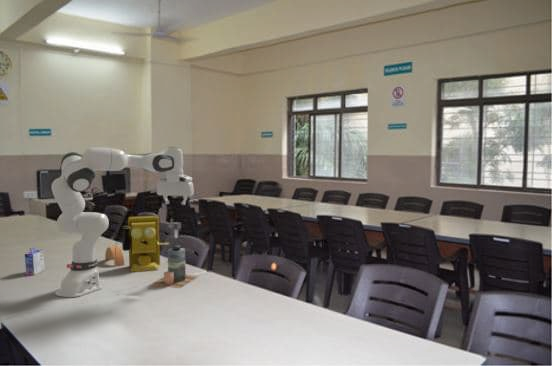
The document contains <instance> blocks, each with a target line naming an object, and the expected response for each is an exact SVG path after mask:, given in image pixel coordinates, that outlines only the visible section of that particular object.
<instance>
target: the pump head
mask: <svg viewBox="0 0 552 366" xmlns="http://www.w3.org/2000/svg"><path fill="white" fill-rule="evenodd" d="M181 229H182V222H178V221H176V222H175V221H174V222H171V223H170V225H167V226H166V230H174V239H178V237H179V235H178V233H179V232H178V231H179V230H181Z"/></svg>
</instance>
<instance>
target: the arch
mask: <svg viewBox="0 0 552 366" xmlns="http://www.w3.org/2000/svg"><path fill="white" fill-rule="evenodd" d="M115 248H116V252H115ZM115 255H116V257H115ZM104 258H105V259H104V260H105V261H111V260H113V261H114V262H113V263H114V267H115V268H116V267H122V266H125V258H124V254H123V251H122V249H121V247H120V246H118V245H115V246H108V247H107V248H106V250H105V255H104ZM116 258H117V259H116ZM117 261H118V262H117ZM118 264H119V265H118Z"/></svg>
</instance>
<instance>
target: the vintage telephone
mask: <svg viewBox="0 0 552 366" xmlns="http://www.w3.org/2000/svg"><path fill="white" fill-rule="evenodd" d="M124 223H125V225H122V228H123V241H122V246H121V248H122V250H123V251H124V252H128V263H129V264H128V265H129V267H130V272H131V273H136V272H137V273H138V272H147V271H158V270H159V265H161V256H160V255H161V252H160V247H161V246H163V245H165V246H167V245H170V242H160V217H159V216H158V215H147V216H129V217H128V218H127V223H126V222H124ZM119 228H120V227H119V226H118V230H119ZM118 235H119V233H117V236H116V238H118ZM115 243H116V244H115V245H117V243H118V240H116V242H115ZM115 252H116V248H115ZM115 257H116V255H115ZM116 259H117V258H116ZM117 262H118V261H117ZM118 265H119V264H118Z"/></svg>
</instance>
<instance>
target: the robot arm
mask: <svg viewBox="0 0 552 366" xmlns="http://www.w3.org/2000/svg"><path fill="white" fill-rule="evenodd" d="M166 147H167V146H166ZM183 167H184V156H183V151H182V149H181V148H179V147H174V146H168V147H167V148H166V149H164V150H163V151H160V152H158V153H153V152H148V153H145V154H142V155H138V154H137V155H135V154H128V153H126V152H124V150H121V149H118V148H113V147H104V146H103V147H101V146H100V147H99V146H98V147H88V148H87V149H85V150H84V151H83V154H82V155H81V154H80V153H78V152H74V151H73V152H68V153H66V154H64V155H63V157H62V158H61V161H60V167H59V168H60V169H59V173H60V174H61V175H60V177H57V178H55V179H54V180H53V181H52V183H51V192H52V194H53V197H54V200H55V201H56V203H57V205H58V206H59V209H60V210H61V212H62V213H61V214H60V215H59V216H58V218H57V220H56V226H57V229H58V230H59V231H60V232H62V233H65V234H71V235H72V234H74V235H75V234H76V235H79V234H80V235H81V239H80V240H79V241H76V242H75V243H74V244H73V245H72V247H71V251H72V261H71V263H70V264H69V263H67V264H66V265H65V266H66V269H70V270H69V271H68V272H67V274H65V276H64V277H63V279H62V280H61V282H60V289H59V290H57V291H56V292H55V295H56V296H58V297H63V298H64V297H66V298H77V297H81V296H85V295H87V294H90V293H92V292H93V293H94V292H96V291H98V290H101V289H102V285H101V281H100V276H99V275H100V274H99V271H98V259H97V242H98V241H99V238H100V237H101V236H102V234H104V233H105V232H106V231H107V230H108V229H109V222H110V220H109V218H108V216H107V214H105V213H101V212H92V211H90V212H89V211H87V212H86V211H85V212H84V210H85V207H86V201H85V199H84V198H83V195H82V192H85V191H87V190H89V188H91V186H92V183H93V180H94V179H95V177H96V174H95V172H97V171H105V172H116V171H117V172H118V171H122V170H123V169H125V168H138V169H141V170H143V171H146V172H149V173H164V172H166V175H165V177H159V178H157V180H156V183H157V185H156V194H157V195H158V196H162V198H163V199H164V201H165V205H169V204H170V200H169V199H168V196H170V197H171V196H173V197H174V196H175V197H182V198H183V200H182V201H180V202H181V203H180V204H181V205H183V206H185V205H186V202H187V199H188V197H193V195H195V194H194V193H195V188H194V183H193V182H192V181H193V177H191V176H188V175H186V174H184V170H183Z"/></svg>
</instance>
